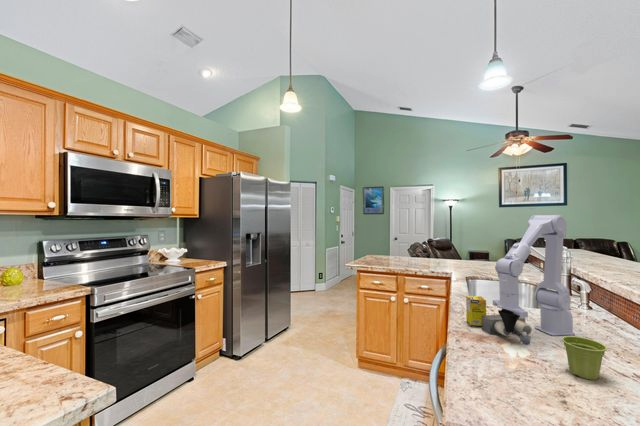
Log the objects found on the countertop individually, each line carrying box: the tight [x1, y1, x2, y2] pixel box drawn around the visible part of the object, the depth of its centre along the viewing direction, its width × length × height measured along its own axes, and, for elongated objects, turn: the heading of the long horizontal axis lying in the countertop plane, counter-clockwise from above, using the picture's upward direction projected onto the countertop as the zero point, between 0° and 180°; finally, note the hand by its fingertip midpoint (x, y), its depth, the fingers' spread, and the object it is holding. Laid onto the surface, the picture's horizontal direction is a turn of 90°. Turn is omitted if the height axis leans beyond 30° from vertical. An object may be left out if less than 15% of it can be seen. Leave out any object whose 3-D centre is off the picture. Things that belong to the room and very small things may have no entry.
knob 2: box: [514, 320, 533, 336], centre depth 113 cm, size 4×10×4 cm, turn 6°
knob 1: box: [494, 321, 512, 337], centre depth 113 cm, size 4×10×4 cm, turn 6°
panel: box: [481, 314, 526, 336], centre depth 115 cm, size 14×5×6 cm, turn 96°
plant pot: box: [561, 335, 608, 380], centre depth 83 cm, size 9×9×9 cm
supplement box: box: [465, 295, 487, 329], centre depth 122 cm, size 6×6×11 cm
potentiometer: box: [519, 332, 531, 345], centre depth 104 cm, size 4×3×4 cm
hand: (509, 331), depth 106 cm, fingers closed
